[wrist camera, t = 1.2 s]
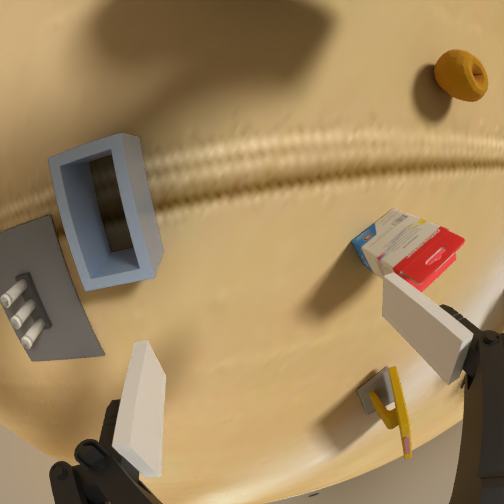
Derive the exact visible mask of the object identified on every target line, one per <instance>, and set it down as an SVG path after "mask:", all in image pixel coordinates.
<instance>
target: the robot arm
mask: <svg viewBox="0 0 504 504" xmlns="http://www.w3.org/2000/svg"><path fill="white" fill-rule="evenodd" d="M382 316H383V317H384V318H385V319H386V320H387V321H388V322H389V323H390V324H391V325H392V326H393V327H394V328H395V329H396V330H397V331H398V332H399V333H400V335H401V336H402V337H403V338H404V339H405V340H406V341H407V342H408V343H409V344H410V345H411V346H412V347H413V348H414V349H415V350H416V351H417V352H418V353H419V354H420V355H421V356H422V357H423V359H424V360H425V361H426V362H427V363H428V364H429V365H430V366H431V367H432V368H433V369H434V370H435V371H436V372H437V374H438V375H439V376H440V377H441V378H442V379H443V380H444V381H445V382H446V383H447V385H449V384H450V383H452V382H453V381H455V380H456V379H458V378H459V376H460V374H461V371H462V369H463V370H464V371H465V372H466V374H465V377H464V379H463V382H462V384H461V388H463V386H464V384H465V390H464V415H463V428H462V439H461V446H460V454H459V461H458V466H457V473H456V478H455V482H454V487H453V492H452V496H451V500H450V502H449V504H504V333H502V334H498V333H496V332H494V331H490V330H487V331H483V332H482V331H481V330H480V329H478V328H477V327H476V326H475V325H473V324H472V323H471V322H470V321H468V320H467V319H466V318H463V316H462V315H461V314H458V312H457V311H455V310H454V309H453V308H451V307H449V306H446V305H443V304H442V305H440V306H438V305H437V304H436V303H434V302H433V301H432V300H431V299H429V298H428V297H427V296H425V295H424V294H423V293H421V292H420V291H419V290H417V289H416V288H415V287H413V286H412V285H411V284H409V283H408V282H407V281H405V280H404V279H403V278H401V277H400V276H398V275H397V274H396V273H394V272H393V273H390V274H387V275H384V276H383V305H382ZM165 388H166V375H165V373H164V371H163V369H162V367H161V365H160V363H159V361H158V360H157V358H156V356H155V354H154V352H153V350H152V348H151V346H150V344H149V341H148V340H144V341H139V342H135V343H134V347H133V351H132V355H131V359H130V363H129V367H128V371H127V375H126V379H125V383H124V388H123V392H122V397H121V399H119V400H112V401H111V403H110V404H109V406H108V407H107V409H106V413H105V419H104V422H103V426H102V431H101V435H100V440H99V442H98V441H96V440H93V439H86V440H84V441H82V442H81V443H80V444H79V445H77V447H76V449H75V453H74V456H75V459H76V461H78V462H79V463H80V465H76V466H71V465H69V464H68V463H67V462H64V461H60V462H57V463H55V464H54V465H53V466H52V467H51V469H50V473H49V477H50V482H51V487H52V492H53V496H54V500H55V504H162V503H161V502H160V501H159V500H158V499H157V498H156V497H155V495H154V494H153V493H152V492H151V491H150V490H149V489H148V488H147V487H146V486H145V485H144V484H143V483H142V482H141V481H140V480H139V472H140V473H141V474H142V475H143V476H144V477H145V478H146V477H161V476H162V437H163V417H164V401H165ZM109 502H110V503H109Z"/></svg>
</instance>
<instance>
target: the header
mask: <svg viewBox="0 0 504 504" xmlns="http://www.w3.org/2000/svg"><path fill="white" fill-rule="evenodd" d="M0 302H1V304H2V306H3V308H4V310H5V312H6V315H7V317H8V319H9V321H10V323H11V325H12V327H13V329H14V331H15V333H16V334H17V336H18V338H19V340H20V342H21V344H22V345H23V347H24V349H25V351H26V352H27V354H28V356H29V357H30V359H31V361H50V360H64V359H76V358H87V357H97V356H105V353H104V351H103V349H102V347H101V345H100V343H99V341H98V339H97V337H96V335H95V333H94V331H93V329H92V327H91V325H90V322H89V320H88V318H87V316H86V313H85V311H84V309H83V306H82V304H81V302H80V299H79V297H78V294H77V292H76V289H75V287H74V284H73V282H72V279H71V276H70V274H69V271H68V268H67V265H66V262H65V259H64V256H63V253H62V250H61V247H60V244H59V241H58V238H57V234H56V231H55V227H54V224H53V220H52V216H51V215H48V216H45V217H42V218H39V219H36V220H33V221H30V222H28V223H25V224H22V225H19V226H17V227H14V228H11V229H9V230H6V231H4V232H1V233H0Z"/></svg>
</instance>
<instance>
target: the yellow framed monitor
mask: <svg viewBox="0 0 504 504" xmlns="http://www.w3.org/2000/svg"><path fill="white" fill-rule="evenodd" d="M357 392H358V394H359V397H360V399H361V402H362V404H363V407H364V409H365V412H366V414H370V413H372V412H374V411H377V413H378V414H379V416H380V417H381V419H382V420H383V422H384V424H385V425H386V427H387V428H388V429H393V428H394V427H396V426H398V425H399V428H400V434H401V440H402V446H403V452H404V459H409V458H411V457H412V451H411V434H410V423H409V418H408V413H407V409H406V404H405V400H404V396H403V391H402V387H401V383H400V379H399V376H398V372H397V368H396V367H395V366H394V367H391V368H388V367H385V368H384V369H383V370H381V371H380V372H379V373H378V374H376V375H375V376H374V377H373V378H371V379H370V380H369V381H367V382H366V383H365V384H364V385H362V386H361V387H360V388H358V389H357ZM394 401H395V406H396V408H395V409H393V410H391V411H388V410H387V409H386V408H385V406H386V405H388V404H390V403H392V402H394Z"/></svg>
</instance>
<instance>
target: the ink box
mask: <svg viewBox="0 0 504 504" xmlns="http://www.w3.org/2000/svg"><path fill="white" fill-rule="evenodd" d="M465 242H466V240H465V239H464V238H462V237H460V236H458V235H456V234H454V233H452V232H450V231H449V229H446V228H444V227H441V226H439V225H436V224H434V223H431V222H429V221H426V220H423V219H421V218H418V217H416V216H413V215H410V214H408V213H405V212H403V211H400V210H397V209H392V210H390V211H389V212H388V213H387V214H385V215H384V216H383V217H382V218H380V219H379V220H378V221H376V222H375V223H374V224H373V225H371V226H370V227H369V228H368V229H366V230H365V231H364V232H362V233H361V234H360V235H358V236H357V237H356V238H355V239H353V240H352V243H353V245H354V247H355V249H356V251H357V253H358V255H359V257H360V258H361V260H362V262H363V264H364V266H366V267H367V268H368V269H370V270H371V271H372V272H374V273H375V274H376V275H378V276H379V277H380V278H382V279H383V276H384V275H387V274H390V273H393V272H394V273H396V274H397V275H398V276H400V277H401V278H403V279H404V280H405V281H407V282H408V283H409V284H411V285H412V286H413V287H415V288H416V289H417V290H419V291H420V292H422V291H423V290H425V289H426V288H427V287H428V286H429V285H430V284H431V283H432V282H433V281H434V280H435V279H436V278H437V277H438V276H440V275H441V274H442V273H443V272H444V271H445V270H446V269H447V268H448V267H449V266H450V265H451V264H452V263H453V262H454V261H455V260H456V255H455V252H456V251H457V250H458V249H459V248H460V247H461V246H462V245H463V244H464V243H465Z"/></svg>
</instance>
